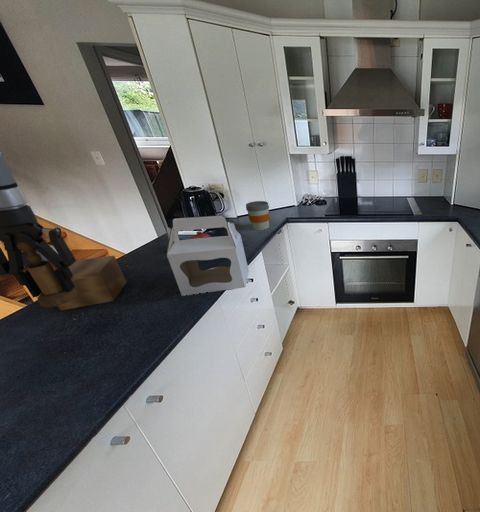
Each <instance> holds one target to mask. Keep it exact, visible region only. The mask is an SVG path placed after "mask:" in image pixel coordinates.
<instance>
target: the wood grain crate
mask: <svg viewBox="0 0 480 512" xmlns="http://www.w3.org/2000/svg"><path fill="white" fill-rule="evenodd" d="M68 267H69V269H70V270H71V272H72V274H73V277H72V278H71V280H72V282H73V284H74V286H75V287H74V288H73V289H74V291H75V292H76V294H77V297H76V298H75V299H73V300H71V301H70V302H67V303H65V304H62V305H59V306H57V307H58V309H59V310H60V311H66V310H72V309H76V308H82V307H87V306H88V307H89V306H95V305H99V304H104V303H110V302H111V303H112V302H114V301H115V299H116V298H117V297H118V296H119V294H120V293H121V292H122V290H123V288H124V287H125V286H126V284H127V280H126V278H125V276H124V273H123V272H122V269H121V267H120V265H119V263H118V261H117V258H116V256H115V255H107V256H101V257H92V258H85V259H77V260H76V261H75V262H74V263H73V264H72V265H71V266H68ZM56 269H57V268H56ZM56 269H54V271H55V270H56Z"/></svg>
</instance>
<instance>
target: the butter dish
mask: <svg viewBox="0 0 480 512" xmlns="http://www.w3.org/2000/svg"><path fill="white" fill-rule="evenodd" d="M209 237H211V236H210V234H208V233H203V231H201V230H199V231H196V234H194V235H192V236H191V237H190V239H197V238H209Z"/></svg>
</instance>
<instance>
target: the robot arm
mask: <svg viewBox="0 0 480 512" xmlns="http://www.w3.org/2000/svg"><path fill="white" fill-rule="evenodd" d="M27 203H28V200H27V198H26V196H25V195H24V193H23V192H22V190H21V188H20V187H19V185H18V183H17V181H16V179H15V178H14V175H13V174H12V171H11V170H10V168H9V166H8V164H7V163H6V161H5V159H4V157H3V155H2V152H1V151H0V242H1V243H3V246H4V251H6V254H7V256H6V254H5V252H4V251H3V249H2V248H1V246H0V275H1V276H5V275H11V276H13V277H14V278H15V280H16V282H18V284H19V285H20V286H21V287H26V289H27V290H28V292H29V293H30V295H31V297H32V298H38V297H39V296H40V295H41V293H42V291H41V290H40V288H39V286H38V285H37V283H36V282H35V280H34V279H33V277H32V276H31V274H30V272H29V271H28V270H27V268H26V267H25V264H24V258H23V257H24V256H23V251H21V250H19V249H18V248H17V247H16V245H17V244H18V243H20V242H23V243H27V244H28V245H29V246H31V247H32V248H33V249H35V251H37V252H38V254H40V255H41V256H42V257H44V258H45V259H46V261H49V262H50V264H51V265H52V266H53V267H55V268H56V270H55V269H54V270H55V271H54V272H55V274H56V276H57V277H58V279H59V281H60V282H61V284H62V286H63V287H64V289H65V291H66V292H70V291H71V290H72V289H73V288H74V287H75V286H74V284H73V282H72V280H71V278H72V277H73V274H72V272H71V270H70V269H69V267H68V266H71V265H72V264H73V263H74V262H75V261H77V260H76V258H75V256H74V254H73V253H72V251H71V249H70V248H69V246H68V245H67V243H66V242H65V241H66V240H64V238H63V236H62V229H61V228H60V227H58V226H57V227H56V226H55V227H54V228H51V227H44V226H43V225H42V224H41V223H40V222H38V218H37V216H36V214H35V213H34V211H33V209H32V207H31V205H28V204H27ZM43 234H45V236H46V238H48V239H49V242H50V243H51V245H52V247H51V245H49V244H48V243H47V240H46V239H45V238H44V237H43Z"/></svg>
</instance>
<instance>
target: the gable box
mask: <svg viewBox="0 0 480 512" xmlns="http://www.w3.org/2000/svg"><path fill="white" fill-rule="evenodd" d="M219 228H220V229H222V228H224V229H226V231H227V235H223V236H210V237H209V238H197V239H191V238H187V239H181V238H180V236H179V232H183V231H194V230H206V229H207V230H208V229H219ZM166 232H167V237H168V243H167V244H168V245H167V248H166V249H167V250H166V257H167V260H168V262H169V266H170V269H171V271H172V273H173V277H174V279H175V282H176V285H177V286H178V290H179V292H180V295H181V297H186V295H187V296H193V294H194V295H200V294H199V293H201V294H207V293H206V292H208V293H215V292H222V291H229V290H237V289H242V288H243V289H244V288H246V286H247V281H248V277H249V272H250V271H249V266H248V262H247V258H246V253H245V248H244V244H243V240H242V239H243V238H242V235H241V234H240V232H239V231H238V230H237V229H236V225H235V223H234V222H229V221H227V219H226V216H224V215H222V214H218V215H206V216H193V217H192V216H191V217H176V218H173V219H172V227H166ZM222 258H223V259H228V260H229V261H230V266H225V265H223V266H222V265H221V266H215V267H212V268H208V269H201V268H200V266H199V265H200V264H199V262H198V261H212V260H217V259H222Z"/></svg>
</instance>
